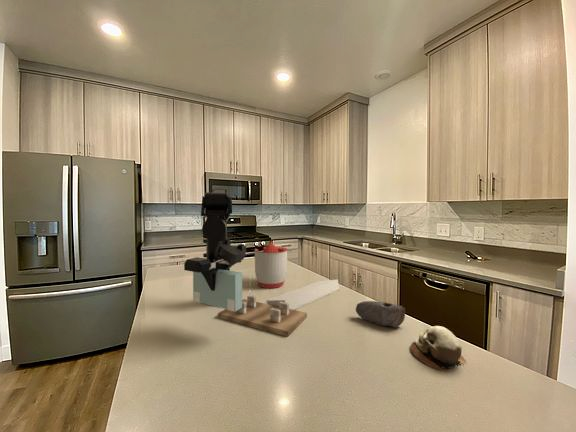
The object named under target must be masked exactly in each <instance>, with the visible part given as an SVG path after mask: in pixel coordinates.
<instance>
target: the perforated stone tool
mask: <svg viewBox="0 0 576 432" xmlns="http://www.w3.org/2000/svg"><path fill="white" fill-rule="evenodd" d="M355 312H356V314H357V316H359V317H360V318H361V319H363V320H365V321H368V322H371V323H373V324H376V325H379V326H382V327H383V326H384V327H386V326H387V327H388V326H390V327H392V328H393V329H394V328H397V327H399V326H401V325H402V324H403V323H404V321H405V317H406V308H404V306H403V305H399V304H394V303H391V302H387V301H386V302H384V301H377V300H374V301H373V300H372V301H371V300H367V301H361V302H359V303H357V304H356V307H355Z"/></svg>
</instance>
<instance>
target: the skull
mask: <svg viewBox="0 0 576 432" xmlns="http://www.w3.org/2000/svg"><path fill="white" fill-rule="evenodd" d="M410 351H411V353H412V355H413V356H415V358H417V359H418V360H419V361H420V362H421V363H424V365H427V366H429V367H431V368H434V369H436V370H438V371H439V370H440V371H443V372H449V373H450V370H451V368H452V367H459V366H460V367H461V366H463V367H464V366H465V365H467V361H466V359H465V358H464V356H463V355H462V345H461V343H460V341H459V339H458V338H457V336H456V335H454V333H453V332H452V331H451V330H449V329H448V328H446V327H444V326H440V325H434V326H430V327H429V328H427V329H425V331H423V332H422V333H420V334H419V335H418V338H416V339H415V341H413V342H411V344H410ZM450 367H451V368H450Z"/></svg>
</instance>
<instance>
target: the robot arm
mask: <svg viewBox="0 0 576 432" xmlns="http://www.w3.org/2000/svg"><path fill="white" fill-rule="evenodd" d="M227 191H228V190H227V189H226V188H213V189H212V191H211V192H205V193H204V195H203V196H202V197H201V199H202V200H201V210H200V216H201V217H206V220H205V221H204V223H203V224H202V229H201V230H202V234H203V236H204V237H205V238H204V239H202V240H203V241H202V243H203V244H205V245H206V252H205V253H203V254H202V256H203V257H193V258H188V259H186V260H185V261H184V263H183V265H184V267H183V268H184V271H187V272H192V273H193V272H198V273H199V272H201V273H202V275H203V276H204V278H205V280H206V282H207V284H208V286H209V287H210V289H211V291H214V290H215V279H216V272H217V271H218V270H219V269H222V270H229V271H231V269H230V268H232V267H233V266H234V265H236V264H238V263H239V264H240V263H242V261H243V260H245V258H244V257H246V256H247V246H246V245H245V244H243V243H240V244H238V245H232V243H231V239H230V238H228V228H227V227H228V225H227V224H228V220H229V219H230V217H231V214H233V199H232V197H231V196H230V195H229V194H228V192H227Z"/></svg>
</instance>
